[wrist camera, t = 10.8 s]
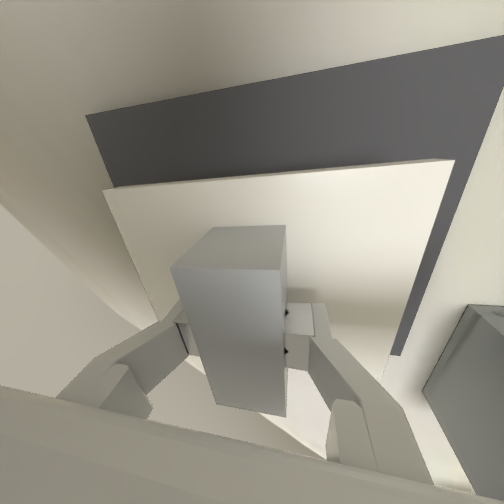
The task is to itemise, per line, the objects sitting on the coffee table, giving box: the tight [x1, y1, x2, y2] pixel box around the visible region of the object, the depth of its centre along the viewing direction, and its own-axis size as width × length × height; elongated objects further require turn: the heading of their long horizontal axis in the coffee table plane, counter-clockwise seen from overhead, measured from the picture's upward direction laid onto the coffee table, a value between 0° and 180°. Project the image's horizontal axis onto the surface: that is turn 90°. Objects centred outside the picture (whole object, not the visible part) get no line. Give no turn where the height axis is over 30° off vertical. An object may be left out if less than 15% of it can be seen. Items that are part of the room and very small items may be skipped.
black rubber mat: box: [85, 35, 504, 356], centre depth 13 cm, size 20×18×1 cm
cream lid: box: [102, 159, 455, 417], centre depth 9 cm, size 13×11×6 cm
